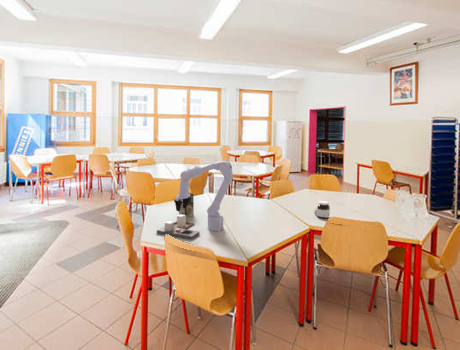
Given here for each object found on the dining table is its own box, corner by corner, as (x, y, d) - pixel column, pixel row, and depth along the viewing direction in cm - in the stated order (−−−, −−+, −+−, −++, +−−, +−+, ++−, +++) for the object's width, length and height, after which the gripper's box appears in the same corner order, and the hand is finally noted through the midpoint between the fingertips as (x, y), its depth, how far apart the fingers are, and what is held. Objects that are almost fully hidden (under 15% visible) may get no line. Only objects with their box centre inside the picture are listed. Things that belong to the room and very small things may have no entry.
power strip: (199, 235, 177) (199, 230, 177) (191, 240, 169) (191, 235, 168) (165, 229, 187) (165, 224, 186) (156, 234, 178) (156, 228, 178)
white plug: (185, 225, 193) (185, 215, 192) (182, 227, 189) (182, 216, 188) (180, 224, 194) (180, 214, 193) (177, 226, 191) (176, 215, 190)
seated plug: (174, 232, 181) (174, 221, 180) (170, 235, 178) (170, 223, 176) (168, 231, 183) (168, 220, 182) (164, 233, 179) (164, 222, 178)
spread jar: (325, 220, 210) (326, 204, 208) (310, 217, 217) (311, 201, 215) (331, 216, 219) (332, 201, 217) (316, 213, 226) (317, 198, 224)
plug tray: (194, 225, 195) (194, 222, 195) (184, 231, 184) (184, 228, 184) (178, 222, 200) (178, 220, 199) (168, 228, 189) (168, 225, 189)
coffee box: (187, 213, 221) (187, 192, 219) (194, 215, 217) (193, 193, 215) (178, 216, 214) (178, 194, 212) (184, 218, 210) (184, 195, 208)
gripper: (184, 186, 196) (182, 205, 199) (172, 189, 183) (169, 210, 186) (194, 188, 194) (191, 208, 196) (181, 192, 180) (178, 213, 183)
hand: (181, 209), depth 191 cm, fingers open, 7 cm apart
